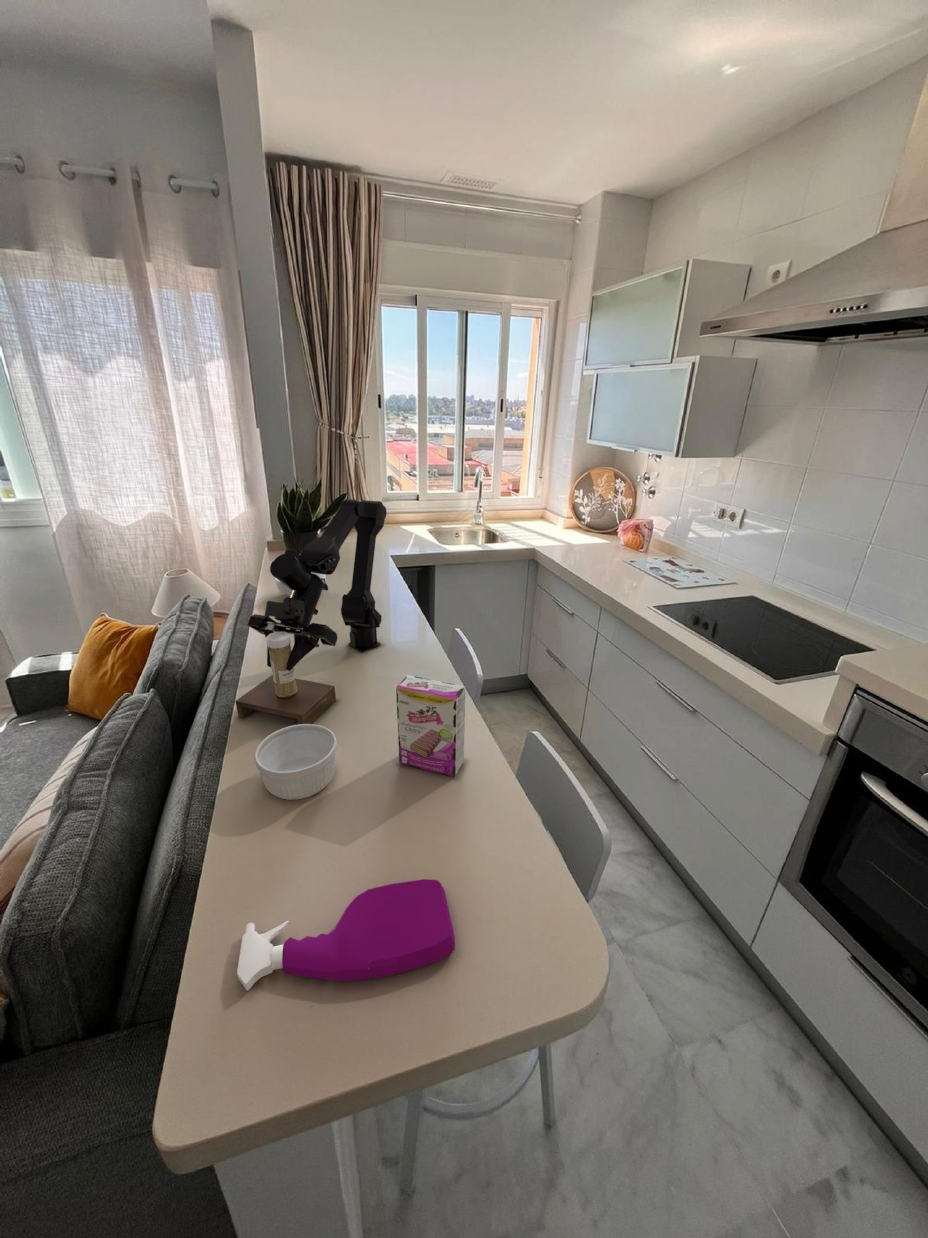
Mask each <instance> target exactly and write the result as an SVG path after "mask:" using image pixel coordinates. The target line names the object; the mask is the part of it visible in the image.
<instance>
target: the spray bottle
mask: <svg viewBox="0 0 928 1238" xmlns="http://www.w3.org/2000/svg"><path fill="white" fill-rule="evenodd" d="M447 899H448V898H447V894H446V891H445V889H444V887H443V885H442V883H441V881H439V880H437V879H424V878H423V879H417V880H410V881H401V882H395V883H390V884H385V885H381V886H377V887H372V888H368V889H366V890H365V891H363V892H361V893H359V894H358V895H357V896H356V897H355V898H354V899H353V900H352V901H351V902H350V903H349V904H348V905H347V907H345V909H344V911H343V913H342V915H341V917H340V918H339V920H338V922H337V923H336V926H335V928H333V930H331V931H330V932H328V933H327V934H326V933H320V934H318V935H317V936H308V935H307V936H305V937H303V938H301V939H300V940H299V939H297V938H294V937H291V936H289V937H288V938H287V939H285V941H284V943H282V944H279V945H275V946H274V944H273V943H271V941H272V940H273V939H274V938H276V936H277V935H279V934H280V933H281V932H282V931H284V929H286V927H288V926H289V925H290V921H289V920H286V921H285V922H282V924H280V925H278V926H276V927H274V928H272V929H270V930H268V931H266V932H263V933H260V934H259V932H258V931H257V930H256V924H255V922H248V923H247V924H246V925H245V929H244V930H245V931H244V933H243V934H242V937H241V944H240V951H239V957H238V962H237V963H238V964H237V970H236V975H237V979H238V980H239V982H240V983H241V984H242V986H243V987H244V989H245V990H246V992H247V991H250V989H251V988H252V987H253V986H254V984H255V983H256V982H257V981H259V980H260V979H261V978H262V977H265V976H267V975H270V974H273V971H276V970H280V969H283V973H284V974H287V975H290V976H291V975H292V976H297V977H303V978H311V979H317V980H325V981H336V982H354V981H367V980H372V979H373V980H374V979H379V978H384V977H389V976H390V977H391V976H394V975H399V974H402V973H405V972H409V971H412V970H415V969H419V968H423V967H426V966H429V965H432V964H434V963H437V962H440V961H441V960H444V959H446V958H448V957H451V955H452V953H453V952H454V951H455V950H456V935H455V932H454V926H453V921H452V917H451V913H450V909H449V908H450V907H449V903H448V900H447Z"/></svg>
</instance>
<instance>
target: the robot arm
mask: <svg viewBox="0 0 928 1238" xmlns="http://www.w3.org/2000/svg"><path fill="white" fill-rule="evenodd" d="M387 514H388V513H387V507H386V506H385V505H384V504H383V502H382V501H379V500H367V499H352V498H351V499H350V498H345V499H343V500H341V501H340V504H339V509H338V510H337V511H336V513H335V514H334V516H333V518H332V519H331V520H330V522H329V523H328V525H327V526H326V528H325V530H323V532H322V534H321V535H320V536H319V537H318V538H316V539H313V540H312V541H310V542H309V543H308V544H307V545H305V547H304V548H303V549H302V550H301V552H300V553H299V552H297V550H295V549H290V548H287V549H285V551H284V553H282V554H279V555H278V556H277V557H275V558H274V560H272V561H271V563H270V566H269V572H270V574H271V575H272V576H273V577H274V579H275V578H276V579H278V580H279V581H280V582H281V583H282V584H284V585H285V586H286V587H287V588H288V589H290V590H293V591H292V594H291V596H289V597H288V596H287V597H285V598H283V601H282V602H279V601H273V600H266V602H265V609H264V615H263V614H258V613H257V614H256V613H254V614H252V615H250V617H249V618H248V621H247V623H246V626H248V627H249V628H251V629H253V630H254V631H255V632H257V633H259V634H260V635H263V636H265V638H266V637H267V636H268V635H269V634H271V633H274V632H287V633H289V634H291V635H293V642H294V644H293V646H292V648H291V654H290V657H289V660H288V662H287V666H286V670H288V671H290V670H291V669H292V668H293V667H294V668H295V666H296V665H298V664H299V662H300V661H301V660H303V658H305V657H306V656H307V655H308V654H309V653H311V651H313V650H314V649H315V648H319V647H320V644H319V641H320V642H321V645H324V646H330V647H336V644H337V641H338V633H337V632H336V631H334V630H333V629H332V628H331V627H329V625H327V624H323V623H316V622H312V619H313V617H314V616H318V614H319V610H318V609H317V606H318V602H319V601H320V598H321V595H322V592H323V591H329V586H328V584H327V581H326V582H325V579H324V578H320V577H319V576H317V575H316V574H325V576H330V575H331V576H332V574H334V572H335V571H336V569H337V567H338V564H339V563H340V561H341V555H340V550H341V548H342V546H343V544H344V543H345V541H346V540H347V538H348V537H349V535H350V533H351V532H352V530H353V528H354V529H355V532H356V540H355V549H354V550H355V551H354V558H353V559H354V560H353V569H352V579H351V588H350V589H349V591H348V592H347V593H346V594H345V593H344V594H343V595H342V598H341V606H340V614H341V617H342V621H343V624H344V625H345V627H346V626H348V627H349V628H350V631H349V643H348V646H350V647H352V648H353V649H356V650H357V651H359V652H361V653H363V652H365V651H368V650H371V649H374V648H376V647H380V646H381V644H382V643H381V642H380V641H378V634H377V632H378V631H377V629H379V628H380V627H381V624H382V617H383V616H382V615H381V614H380V612H379V611H378V610H377V609H376V600H375V598H374V596H373V594H372V591H371V588H372V587H371V586H372V578H373V568H374V560H375V551H376V550H375V549H376V540H377V536H378V534H379V533H380V532H381V531H382V530H383V528H384V525H385V520H386V518H387ZM311 573H316V574H311ZM271 617H273V618H274V619H275V620H274V619H273V618H271ZM277 621H278V622H277ZM266 654H267V655H266V658H267V659H266V666H267V667H269V668H271V662H270V653H269V648H268V646H267V645H266Z"/></svg>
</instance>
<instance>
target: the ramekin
mask: <svg viewBox="0 0 928 1238" xmlns="http://www.w3.org/2000/svg"><path fill="white" fill-rule="evenodd" d="M337 750H338V743H337V738H336V735H335V733H334V732H333V731H332V730H331V729H329V728H327V727H325V726H323V725H320V724H315V723H313V724H299V725H298V724H294V725H293V724H292V725H289V726H286V727H283V728H280V729H278V730H276V731H274V732H272V733H269V735H267V736H266V737H265V738H264V739H262V741H260V743H259V744H258V745H257V747H256V749H255V752H254V761H255V766H256V768H257V770H258V771H259V773H260V775H261V779H262V782H263V784H264V787H265V788H266V790H267V791H268V792H269V793H270V794H272V795H273V796H275V797H277V798H279V799H282V800H285V801H286V800H288V801H297V800H304V799H307V798H309V797H312V796H314V795H316V794H318V793H319V792H321V791H322V790H323V789H325V788H326V787H327V785H329V784H330V782H331V781H332V779H333V777H334V775H335V772H336V760H337V759H336V758H337V757H336V756H337Z"/></svg>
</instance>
